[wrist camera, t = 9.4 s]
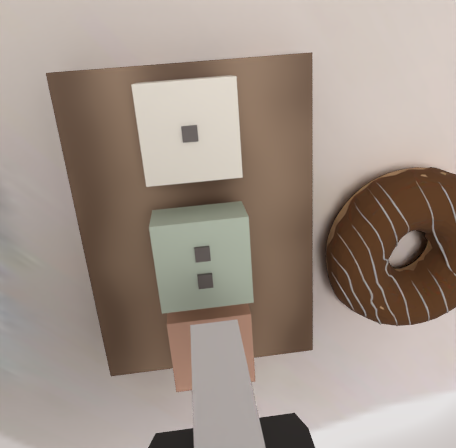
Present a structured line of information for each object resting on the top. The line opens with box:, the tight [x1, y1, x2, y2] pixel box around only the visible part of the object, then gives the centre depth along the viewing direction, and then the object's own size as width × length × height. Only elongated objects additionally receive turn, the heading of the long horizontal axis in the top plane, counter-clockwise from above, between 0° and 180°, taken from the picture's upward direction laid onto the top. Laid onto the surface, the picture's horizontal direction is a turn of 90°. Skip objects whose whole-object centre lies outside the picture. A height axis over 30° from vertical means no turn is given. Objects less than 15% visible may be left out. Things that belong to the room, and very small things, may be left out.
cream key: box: [131, 75, 243, 187], centre depth 20 cm, size 4×4×3 cm
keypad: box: [46, 53, 313, 376], centre depth 24 cm, size 13×18×4 cm
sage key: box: [149, 201, 254, 314], centre depth 21 cm, size 4×4×3 cm
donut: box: [326, 167, 456, 326], centre depth 26 cm, size 11×11×4 cm
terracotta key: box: [167, 303, 255, 392], centre depth 24 cm, size 4×4×3 cm
